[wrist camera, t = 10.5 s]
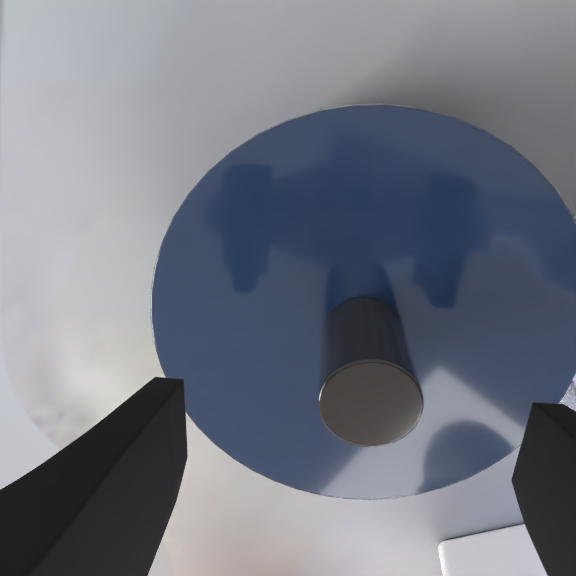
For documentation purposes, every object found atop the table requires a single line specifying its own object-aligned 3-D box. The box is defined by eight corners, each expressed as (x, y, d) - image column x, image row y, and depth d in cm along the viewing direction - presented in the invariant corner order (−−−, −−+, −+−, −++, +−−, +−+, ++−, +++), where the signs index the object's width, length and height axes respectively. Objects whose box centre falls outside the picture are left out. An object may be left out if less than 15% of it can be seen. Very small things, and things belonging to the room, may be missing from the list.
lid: (625, 402, 16) (729, 517, 12) (277, 517, 19) (262, 642, 15) (489, 5, 12) (571, -32, 8) (82, 229, 15) (-13, 287, 11)
